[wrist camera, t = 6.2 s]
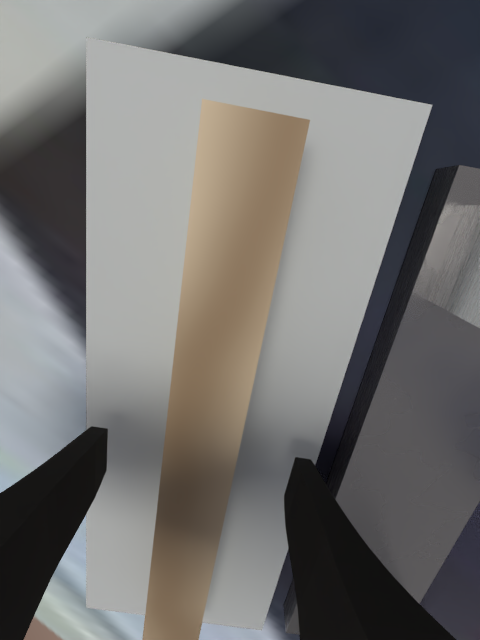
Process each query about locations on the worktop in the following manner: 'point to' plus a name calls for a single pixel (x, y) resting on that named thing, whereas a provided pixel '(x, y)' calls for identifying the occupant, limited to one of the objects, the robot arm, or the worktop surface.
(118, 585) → the mat
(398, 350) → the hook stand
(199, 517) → the rail
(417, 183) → the worktop surface
